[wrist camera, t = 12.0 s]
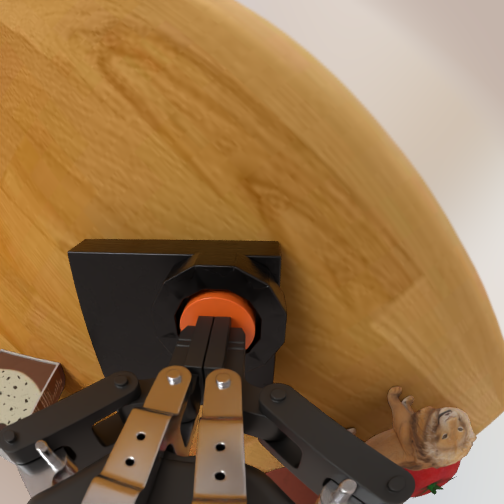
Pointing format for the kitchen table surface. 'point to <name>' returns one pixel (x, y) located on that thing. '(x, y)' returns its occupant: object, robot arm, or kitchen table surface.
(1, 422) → the food container
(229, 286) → the black button box
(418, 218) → the kitchen table surface
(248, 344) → the button
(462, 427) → the lion figurine
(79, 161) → the kitchen table surface
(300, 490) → the potted plant
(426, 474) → the tomato
